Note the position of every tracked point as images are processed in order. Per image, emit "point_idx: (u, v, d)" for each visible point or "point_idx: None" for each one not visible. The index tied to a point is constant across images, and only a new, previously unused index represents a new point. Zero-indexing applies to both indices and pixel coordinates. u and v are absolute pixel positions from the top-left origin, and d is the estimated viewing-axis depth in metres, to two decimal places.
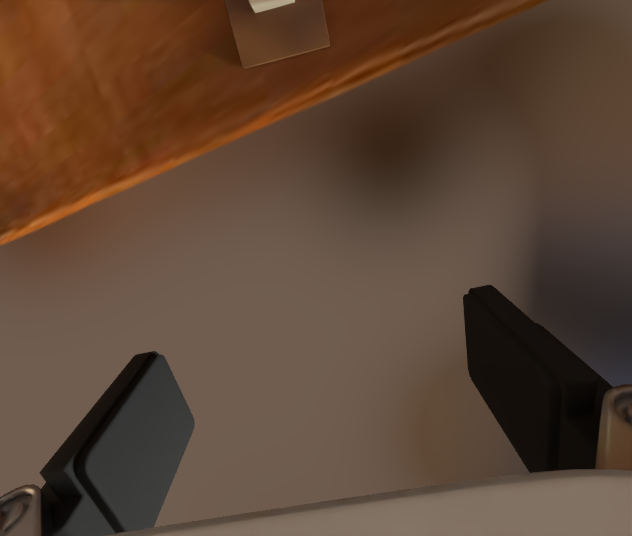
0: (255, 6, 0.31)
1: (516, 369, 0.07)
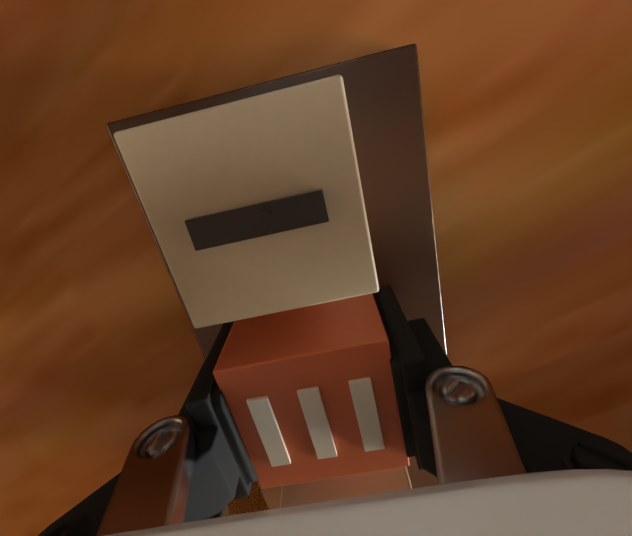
0: None
1: None
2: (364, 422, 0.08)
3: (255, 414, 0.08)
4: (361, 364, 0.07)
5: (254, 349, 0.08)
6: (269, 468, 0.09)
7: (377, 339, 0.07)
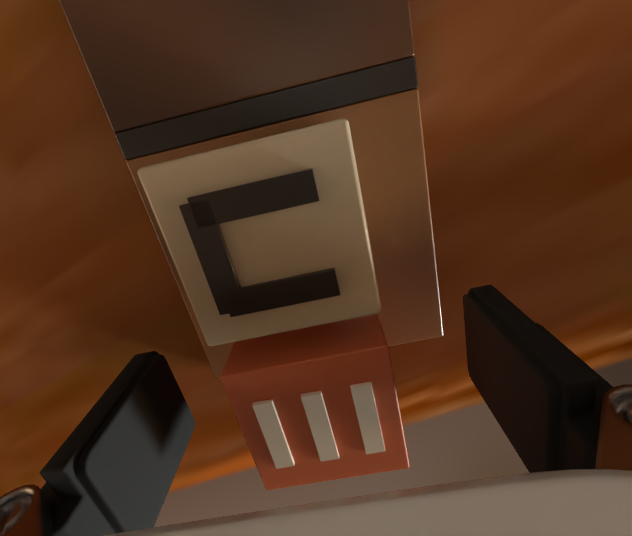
0: None
1: (516, 369, 0.07)
2: (365, 426, 0.08)
3: (260, 417, 0.08)
4: (362, 370, 0.08)
5: (260, 355, 0.08)
6: (274, 470, 0.09)
7: (377, 346, 0.08)
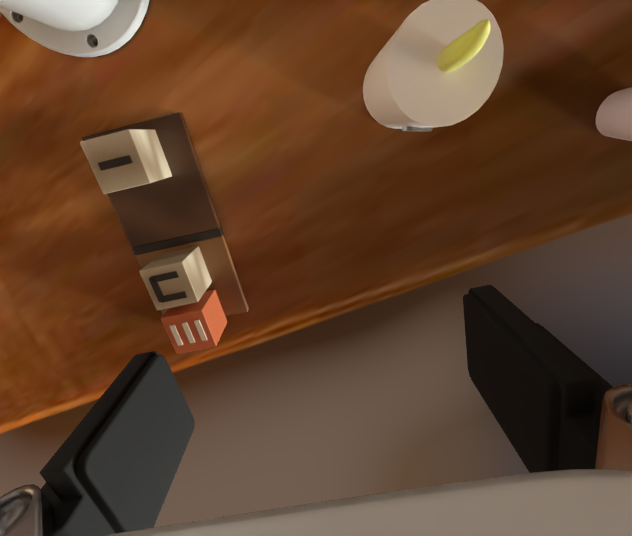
0: None
1: (516, 369, 0.07)
2: (200, 332, 0.31)
3: (172, 330, 0.31)
4: (196, 316, 0.31)
5: (172, 313, 0.31)
6: (178, 346, 0.32)
7: (199, 310, 0.31)
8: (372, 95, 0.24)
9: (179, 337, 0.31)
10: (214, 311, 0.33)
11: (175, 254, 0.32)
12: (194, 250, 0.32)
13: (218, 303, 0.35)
